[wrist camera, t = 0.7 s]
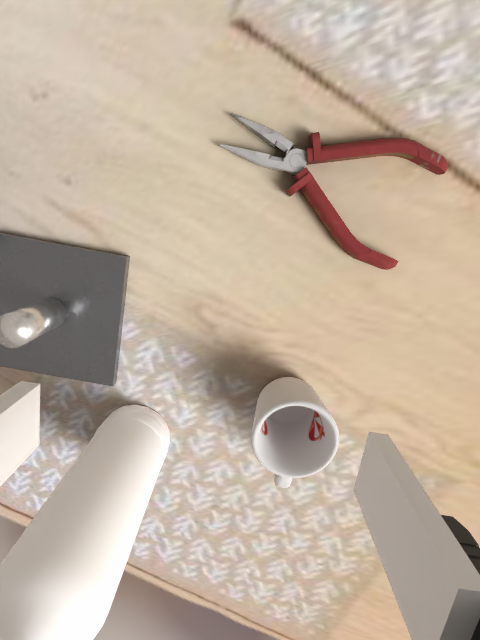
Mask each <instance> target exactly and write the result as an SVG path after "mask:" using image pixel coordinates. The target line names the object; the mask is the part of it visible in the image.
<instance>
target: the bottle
mask: <svg viewBox="0 0 480 640" xmlns="http://www.w3.org/2000/svg"><path fill="white" fill-rule="evenodd" d="M169 443H170V431H169V429H168V426H167V424H166V421H165V420H164V419H163V418H162V417H161V416H160V415H159V414H158V413H157V412H155V411H154V410H152V409H150V408H148V407H145V406H140V405H127V406H122V407H120V408H118V409H116V410H114V411H113V412H112V413H111V414H110V415H109V416H108V417H107V418H106V420H105V421H104V422H103V423H102V424H101V425H100V426H99V428H98V429H97V430H96V432H95V435H94V436H93V438H92V439H91V440H90V442H89V443H88V444H87V446H86V447H85V449H84V450H83V451H82V453H81V454H80V455H79V457H78V458H77V459H76V461H75V462H74V464H73V465H72V466H71V468H70V469H69V470H68V472H67V473H66V475H65V476H64V477H63V479H62V480H61V481H60V483H59V484H58V486H57V487H56V488H55V490H54V491H53V492H52V494H51V495H50V497H49V498H48V499H47V501H46V502H45V503H44V505H43V506H42V508H41V509H40V510H39V512H38V513H37V514H36V516H35V517H34V518H33V520H32V521H31V523H30V524H29V525H28V527H27V528H26V529H25V531H24V532H23V534H22V535H21V536H20V538H19V539H18V541H17V542H16V543H15V545H14V546H13V547H12V549H11V550H10V551H9V553H8V554H7V556H6V557H5V558H4V560H3V561H2V562H1V564H0V640H93V639H94V637H95V636H96V634H97V633H98V632H99V630H100V629H101V627H102V626H103V624H104V621H105V619H106V617H107V615H108V612H109V610H110V607H111V604H112V601H113V599H114V596H115V593H116V590H117V587H118V585H119V582H120V579H121V576H122V574H123V571H124V568H125V565H126V563H127V560H128V557H129V554H130V551H131V549H132V546H133V543H134V540H135V538H136V535H137V532H138V529H139V527H140V524H141V521H142V518H143V515H144V513H145V510H146V507H147V504H148V502H149V499H150V496H151V493H152V491H153V488H154V485H155V482H156V479H157V477H158V474H159V471H160V469H161V467H162V464H163V462H164V460H165V457H166V455H167V452H168V446H169Z"/></svg>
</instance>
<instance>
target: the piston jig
mask: <svg viewBox="0 0 480 640" xmlns="http://www.w3.org/2000/svg"><path fill="white" fill-rule="evenodd" d="M129 258H130V256H124V255H119V254H114V253H108V252H103V251H98V250H92V249H87V248H82V247H76V246H71V245H65V244H60V243H55V242H49V241H44V240H39V239H33V238H28V237H23V236H17V235H12V234H6V233H1V232H0V366H2V367H8V368H14V369H19V370H25V371H30V372H36V373H42V374H47V375H53V376H59V377H64V378H70V379H75V380H81V381H87V382H92V383H98V384H103V385H109V386H113V385H114V384H115V383H116V378H117V369H118V360H119V351H120V341H121V332H122V323H123V314H124V305H125V295H126V286H127V277H128V268H129Z"/></svg>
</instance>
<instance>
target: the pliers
mask: <svg viewBox="0 0 480 640" xmlns="http://www.w3.org/2000/svg"><path fill="white" fill-rule="evenodd" d="M231 115H232V116H233V117H234V118H236V119H237V120H238V121H240V122H241V123H242V124H243V125H245V126H246V127H247V128H249V129H250V130H251V131H252V132H254V133H255V134H256V135H258V136H259V137H260V138H261V139H263V140H264V141H265V142H267V143H268V144H269V145H271V146H272V147H273V148H274V147H275V146H277V147H278V148H280V149H281V150H282V151H283V152H285V153H286V155H285V156H286V157H285V158H280V157H276V156H271V155H270V154H266V153H262V152H257V151H253V150H248V149H243V148H238V147H234V146H229V145H224V144H219V146H221V147H223V148H225V149H227V150H229V151H231V152H233V153H235V154H237V155H239V156H241V157H243V158H245V159H247V160H249V161H251V162H253V163H254V164H256V165H259V166H262V167H265V168H269V169H273V170H277V171H287V172H289V173H290V174H291V175H293V176H294V177H293V179H294V181H295V182H296V183H295V184H294V185H293V186H291V187H290V188H289V189H288V190H286V192H287V193H288V195H289V196H291V195H293V194H294V193H295V192H297V191H298V190H299V189H300V190H301V192H302V193H303V195H304V196H305V197H306V199H307V200H308V202H309V203H310V205H311V206H312V208H313V209H314V210H315V212H316V213H317V215H318V216H319V218H320V219H321V221H322V222H323V223H324V225H325V226H326V228H327V229H328V231H329V232H330V234H331V235H332V236H333V238H334V239H335V241H336V242H337V243H338V244H339V245H340V247H341V248H342V249H343V250H344V251H345V252H347V253H348V254H349V255H350V256H352V257H353V258H355V259H358V260H360V261H363V262H365V263H368V264H370V265H373V266H376V267H378V268H381V269H391V268H393V267H395V266H396V265H397V263H398V261H397V260H395V259H393V258H390V257H388V256H385V255H383V254H380V253H378V252H376V251H373V250H371V249H369V248H367V247H365V246H364V245H363V244H361V243H360V242H359V241H358V240H357V239H356V238H355V237H354V236H353V235H352V233H351V232H350V231H349V229H348V228H347V226H346V225H345V224H344V222H343V221H342V219H341V218H340V216H339V215H338V213H337V212H336V210H335V209H334V207H333V206H332V204H331V203H330V201H329V200H328V199H327V197H326V196H325V194H324V193H323V191H322V190H321V188H320V187H319V185H318V184H317V182H316V181H315V179H314V177H313V176H312V175H311V173H310V172H309V171H308V169H307V168H305V166H306V165H308V164H317V163H325V162H334V161H342V160H350V159H359V158H367V157H376V156H398V157H402V158H405V159H408V160H410V161H412V162H414V163H416V164H418V165H420V166H421V167H423V168H425V169H427V170H429V171H431V172H433V173H435V174H439V175H440V174H444V173H445V172H446V170H447V168H448V163H447V161H446V159H445V158H444V157H443V156H441V155H439V154H438V153H436V152H434V151H432V150H430V149H429V148H427V147H425V146H423V145H421V144H419V143H418V142H416V141H413V140H409V139H403V138H383V139H374V140H366V141H358V142H349V143H341V144H333V145H325V146H321V145H320V134H319V132H316V133H311V134H310V136H309V147H310V148H306V149H305V150H301V149H297V148H295V147H294V146H293V143H292V142H291V141H289V140H288V139H286V138H285V137H284V136H282V135H281V134H279V133H278V132H276V131H274V130H272V129H270V128H267V127H265V126H262V125H260V124H258V123H255V122H253V121H250V120H248V119H245V118H243V117H241V116H238V115H236V114H233V113H231Z"/></svg>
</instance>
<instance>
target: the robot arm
mask: <svg viewBox="0 0 480 640" xmlns="http://www.w3.org/2000/svg"><path fill="white" fill-rule="evenodd" d="M39 432H40V384H39V383H33V382H26V381H20V382H18V383H17V384H15V385H14V386H13V387H11V388H10V389H8V390H7V391H5V392H4V393H2V394H1V395H0V486H1V485H2V484H3V483H4V482H5V481H6V480H7V479H8V478H9V477H10V476H11V474H12V473H13V472H14V471H15V470H16V469H17V468H18V467H19V466H20V465H21V464H22V463H23V462H24V461H25V460H26V459H27V457H28V456H29V455H30V454H31V453H32V452H33V451H34V450H35V449H36V448H37V447H38V446H39ZM354 492H355V495H356V498H357V500H358V503H359V505H360V508H361V510H362V513H363V515H364V518H365V521H366V523H367V526H368V528H369V531H370V533H371V536H372V539H373V541H374V544H375V546H376V549H377V551H378V554H379V557H380V559H381V562H382V564H383V567H384V569H385V572H386V574H387V577H388V580H389V582H390V585H391V587H392V590H393V592H394V595H395V598H396V600H397V603H398V605H399V608H400V610H401V613H402V616H403V618H404V621H405V623H406V626H407V628H408V631H409V634H410V636H411V639H412V640H480V548H479V545H478V544H477V542H476V541H475V539H474V538H473V537H472V535H471V534H470V532H469V531H468V530H467V529H466V528H465V527H464V526H463V525H461V524H460V523H459V522H458V521H457V520H456V519H455V518H454V517H451V516H444V515H440V513H439V512H438V510H437V509H436V507H435V506H434V504H433V503H432V501H431V499H430V498H429V496H428V495H427V493H426V492H425V490H424V489H423V487H422V486H421V484H420V483H419V481H418V480H417V478H416V477H415V475H414V473H413V472H412V470H411V469H410V467H409V466H408V464H407V463H406V461H405V460H404V458H403V457H402V455H401V454H400V452H399V451H398V449H397V447H396V446H395V444H394V443H393V441H392V440H391V438H390V437H389V435H388V434H381V433H374V432H369V434H368V438H367V442H366V445H365V449H364V453H363V457H362V461H361V464H360V468H359V472H358V476H357V480H356V483H355V487H354Z"/></svg>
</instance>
